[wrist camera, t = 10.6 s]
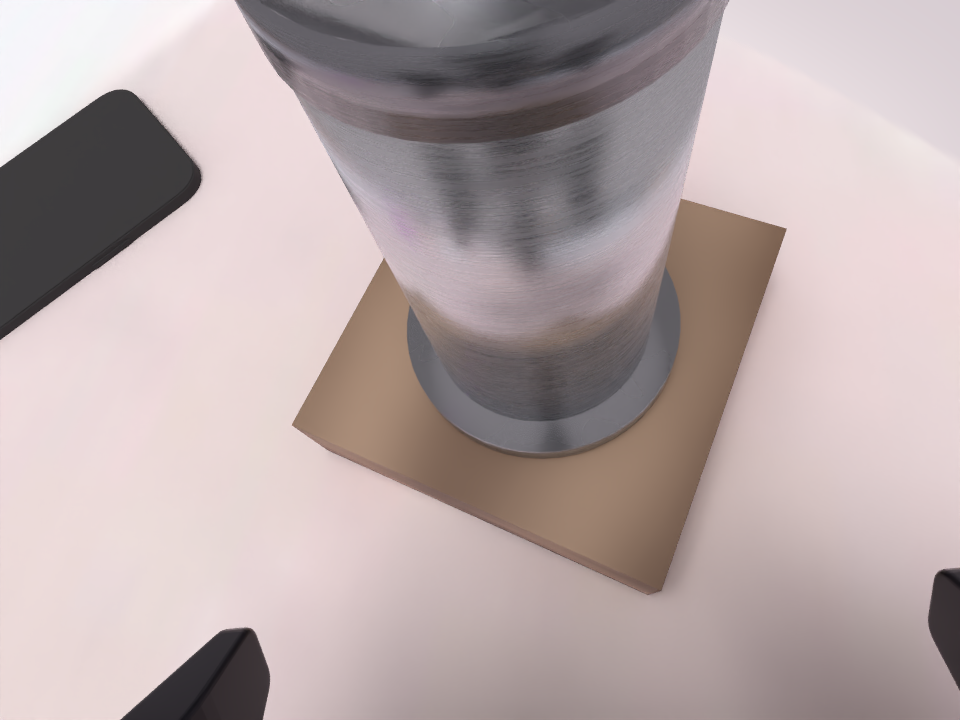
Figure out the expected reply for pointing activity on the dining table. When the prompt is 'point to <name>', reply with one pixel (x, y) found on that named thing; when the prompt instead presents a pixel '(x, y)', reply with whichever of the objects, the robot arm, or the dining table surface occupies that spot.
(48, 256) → the phone
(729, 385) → the stand
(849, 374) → the dining table surface
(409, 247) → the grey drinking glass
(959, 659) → the robot arm
